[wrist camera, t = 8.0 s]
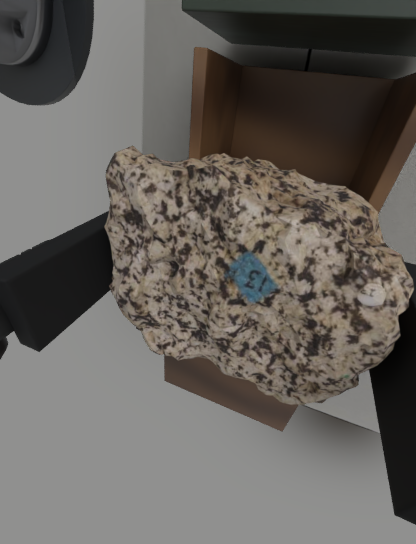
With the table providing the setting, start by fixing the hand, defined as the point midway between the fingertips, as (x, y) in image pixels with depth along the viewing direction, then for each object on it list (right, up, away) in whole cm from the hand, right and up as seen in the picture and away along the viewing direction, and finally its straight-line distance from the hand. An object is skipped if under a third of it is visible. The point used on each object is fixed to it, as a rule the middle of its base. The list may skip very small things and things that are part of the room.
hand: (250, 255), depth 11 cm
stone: (0, 0, 0) cm, 0 cm away
